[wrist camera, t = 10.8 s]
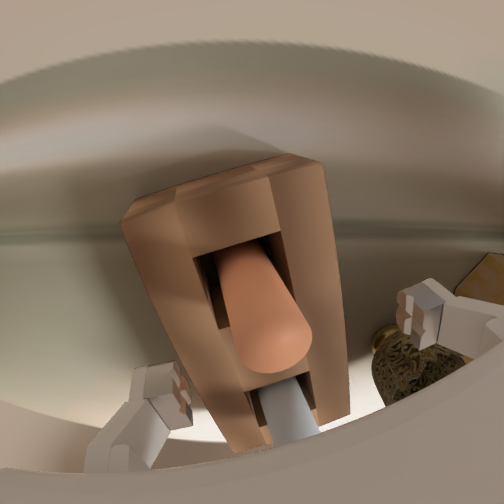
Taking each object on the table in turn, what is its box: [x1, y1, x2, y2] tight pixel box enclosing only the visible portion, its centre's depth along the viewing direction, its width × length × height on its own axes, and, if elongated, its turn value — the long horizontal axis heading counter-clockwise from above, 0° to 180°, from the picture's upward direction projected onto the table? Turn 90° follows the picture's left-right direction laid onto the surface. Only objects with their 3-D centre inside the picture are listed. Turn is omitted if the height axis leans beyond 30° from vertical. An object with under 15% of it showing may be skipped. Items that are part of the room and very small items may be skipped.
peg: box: [213, 238, 312, 373], centre depth 17 cm, size 3×3×10 cm
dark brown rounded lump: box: [371, 324, 466, 407], centre depth 24 cm, size 8×7×8 cm
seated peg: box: [256, 376, 321, 447], centre depth 21 cm, size 3×3×10 cm
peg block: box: [119, 154, 350, 453], centre depth 21 cm, size 10×20×5 cm, turn 14°
